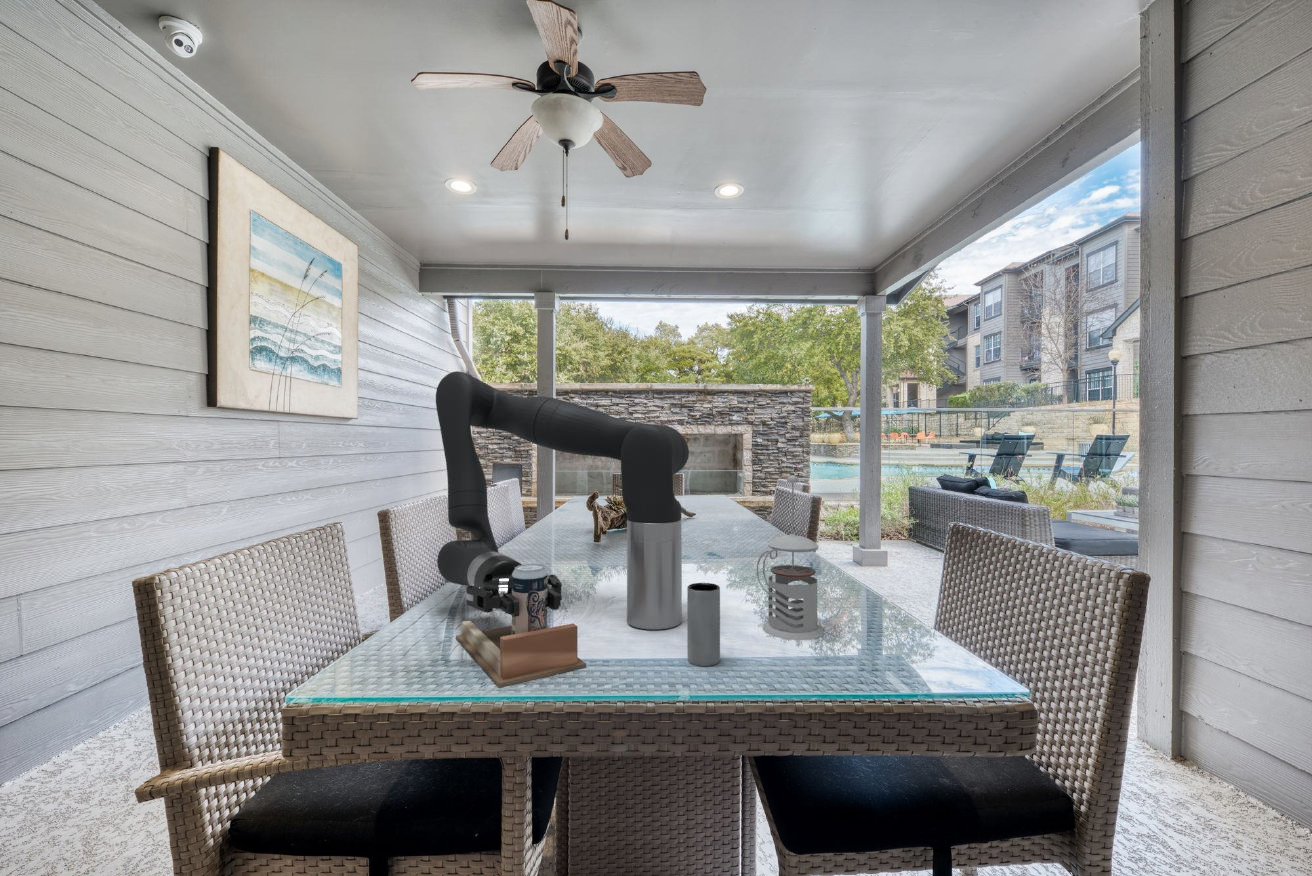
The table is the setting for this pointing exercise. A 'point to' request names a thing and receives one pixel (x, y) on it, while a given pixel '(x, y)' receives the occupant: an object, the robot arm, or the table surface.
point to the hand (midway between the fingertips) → (537, 605)
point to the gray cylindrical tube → (703, 624)
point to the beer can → (530, 598)
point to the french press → (792, 589)
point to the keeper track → (522, 652)
